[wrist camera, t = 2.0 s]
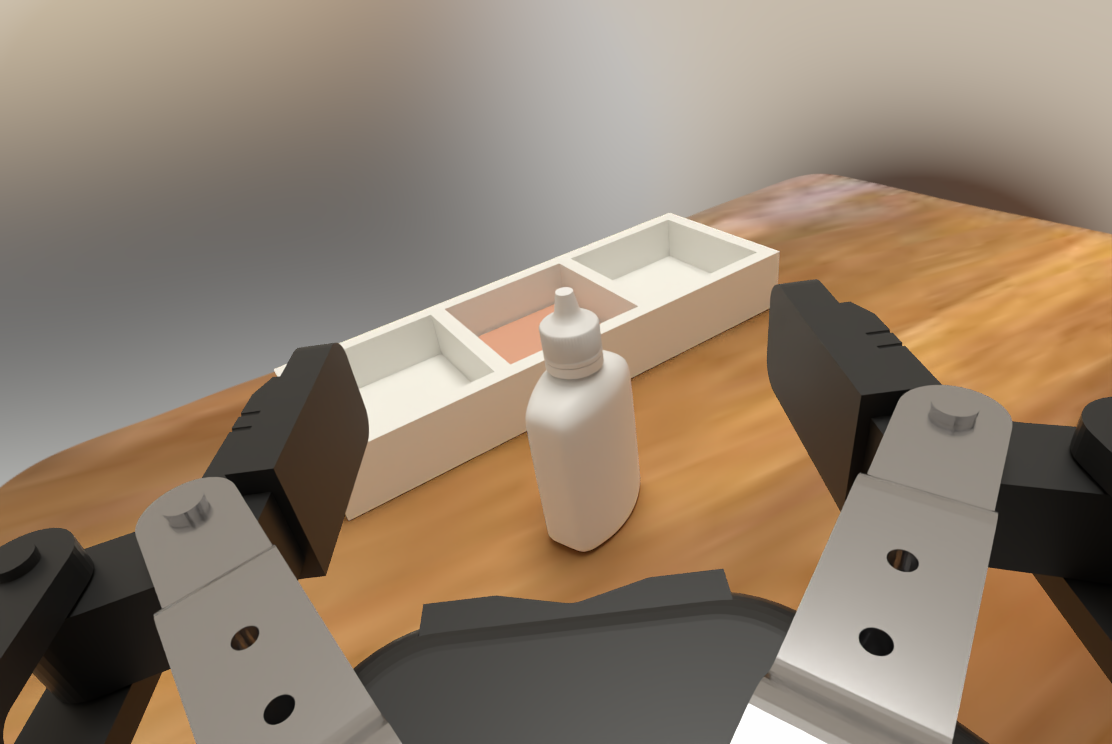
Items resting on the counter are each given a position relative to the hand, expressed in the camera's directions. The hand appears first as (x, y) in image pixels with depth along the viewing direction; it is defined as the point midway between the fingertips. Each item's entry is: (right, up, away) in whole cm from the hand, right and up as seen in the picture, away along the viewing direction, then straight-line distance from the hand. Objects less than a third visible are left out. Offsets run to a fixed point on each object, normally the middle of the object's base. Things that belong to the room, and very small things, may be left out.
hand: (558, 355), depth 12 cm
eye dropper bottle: (+2, -7, +20) cm, 21 cm away
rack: (-1, 0, +31) cm, 31 cm away
